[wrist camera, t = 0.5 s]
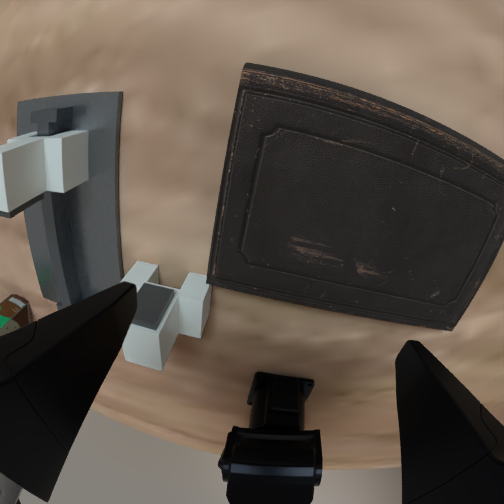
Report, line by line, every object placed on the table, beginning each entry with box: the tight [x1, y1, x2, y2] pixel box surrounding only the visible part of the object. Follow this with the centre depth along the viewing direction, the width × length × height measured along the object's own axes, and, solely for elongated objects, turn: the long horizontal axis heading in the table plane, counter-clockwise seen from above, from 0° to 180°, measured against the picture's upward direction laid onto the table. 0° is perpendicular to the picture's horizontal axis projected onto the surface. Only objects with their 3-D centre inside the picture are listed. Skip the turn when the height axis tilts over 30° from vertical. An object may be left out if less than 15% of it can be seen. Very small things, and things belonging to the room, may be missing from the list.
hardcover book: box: [206, 63, 504, 331], centre depth 19 cm, size 16×23×2 cm
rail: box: [17, 92, 124, 310], centre depth 22 cm, size 22×12×3 cm, turn 171°
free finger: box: [121, 261, 212, 371], centre depth 22 cm, size 5×7×8 cm
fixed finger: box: [0, 131, 89, 218], centre depth 16 cm, size 5×7×8 cm
